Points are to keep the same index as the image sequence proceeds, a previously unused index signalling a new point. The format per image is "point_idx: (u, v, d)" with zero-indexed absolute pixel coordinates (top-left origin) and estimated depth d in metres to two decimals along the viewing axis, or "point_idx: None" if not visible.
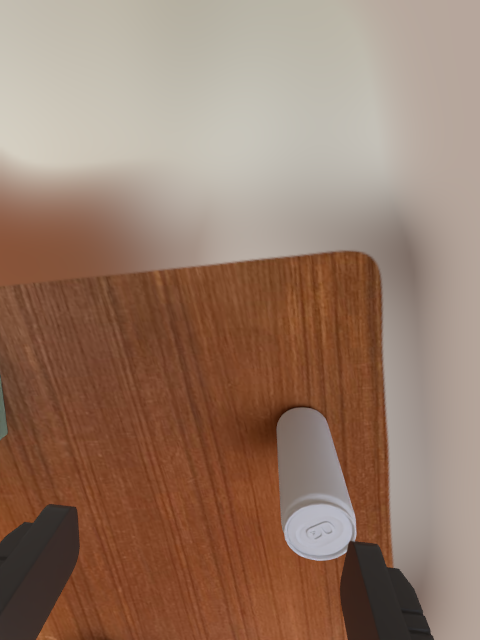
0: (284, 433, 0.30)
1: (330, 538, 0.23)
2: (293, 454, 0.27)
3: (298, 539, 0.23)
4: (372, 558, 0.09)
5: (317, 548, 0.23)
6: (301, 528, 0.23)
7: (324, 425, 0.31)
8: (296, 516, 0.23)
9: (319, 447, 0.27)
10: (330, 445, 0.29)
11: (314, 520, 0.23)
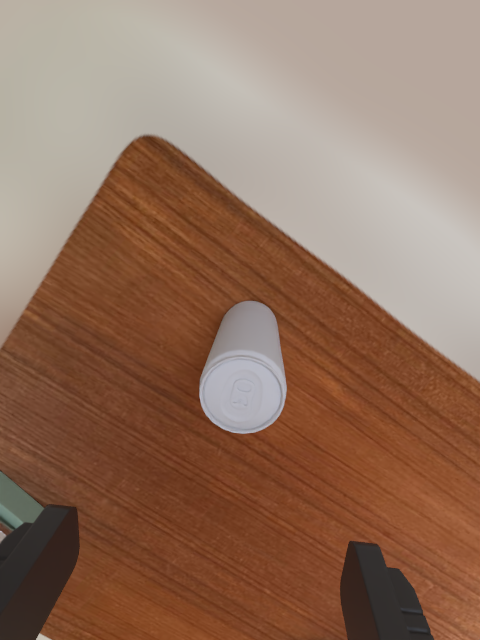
0: None
1: (257, 393, 0.19)
2: None
3: (234, 419, 0.19)
4: (372, 558, 0.09)
5: (259, 413, 0.19)
6: (224, 406, 0.19)
7: (248, 306, 0.27)
8: (207, 399, 0.19)
9: (228, 326, 0.24)
10: (247, 317, 0.25)
11: (225, 389, 0.19)
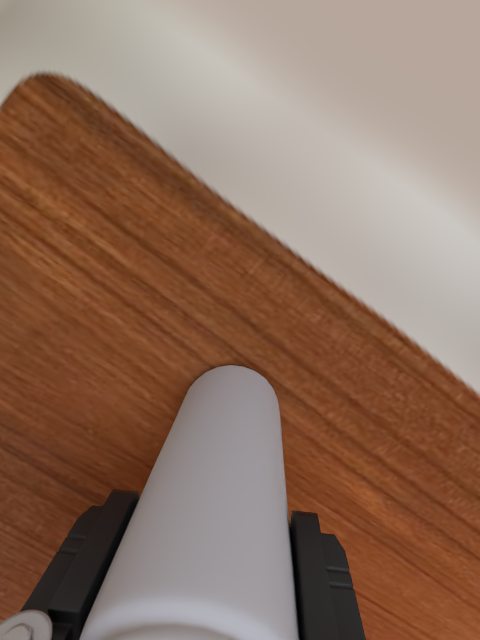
0: None
1: None
2: None
3: None
4: (309, 524, 0.10)
5: None
6: None
7: (225, 383, 0.15)
8: None
9: (177, 447, 0.12)
10: (220, 418, 0.13)
11: None
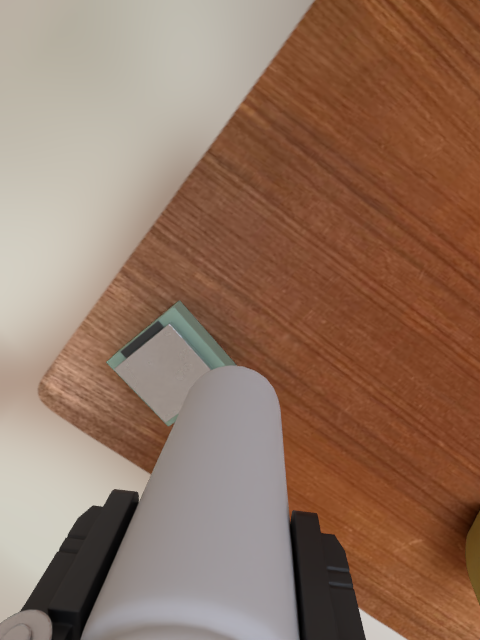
0: None
1: None
2: None
3: None
4: (309, 524, 0.10)
5: None
6: None
7: (226, 383, 0.15)
8: None
9: (178, 447, 0.12)
10: (221, 419, 0.13)
11: None
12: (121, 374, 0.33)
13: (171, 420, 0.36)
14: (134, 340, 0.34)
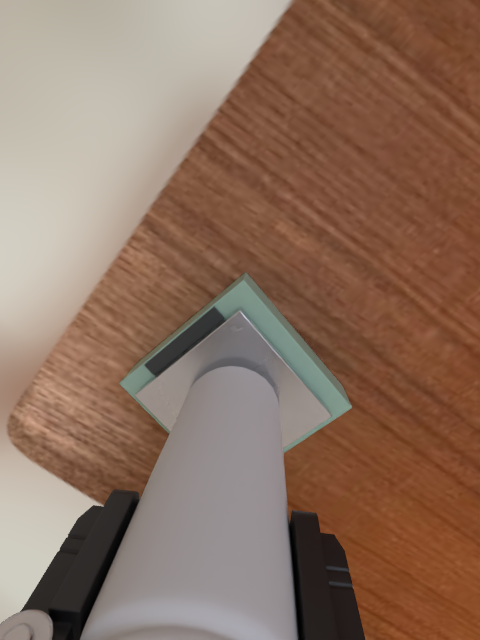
0: None
1: None
2: None
3: None
4: (308, 524, 0.10)
5: None
6: None
7: (226, 384, 0.15)
8: None
9: (178, 448, 0.12)
10: (220, 420, 0.13)
11: None
12: (148, 404, 0.19)
13: None
14: (170, 344, 0.19)
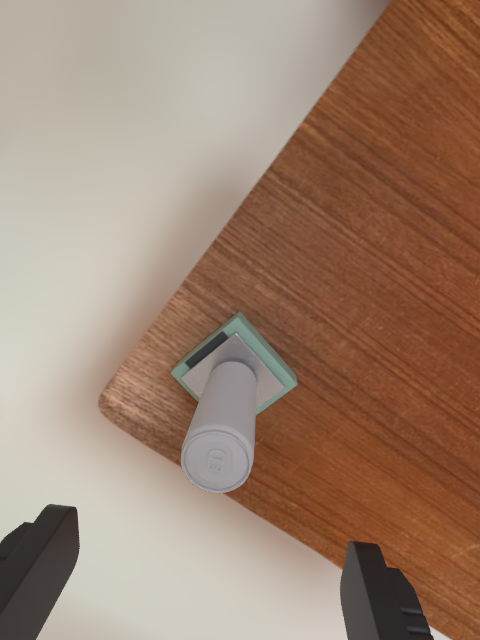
0: None
1: (228, 460, 0.23)
2: None
3: (210, 480, 0.23)
4: (372, 558, 0.09)
5: (230, 476, 0.23)
6: (202, 470, 0.23)
7: (229, 369, 0.31)
8: (188, 464, 0.23)
9: (209, 393, 0.28)
10: (226, 383, 0.29)
11: (202, 457, 0.23)
12: (187, 383, 0.35)
13: None
14: (198, 350, 0.35)
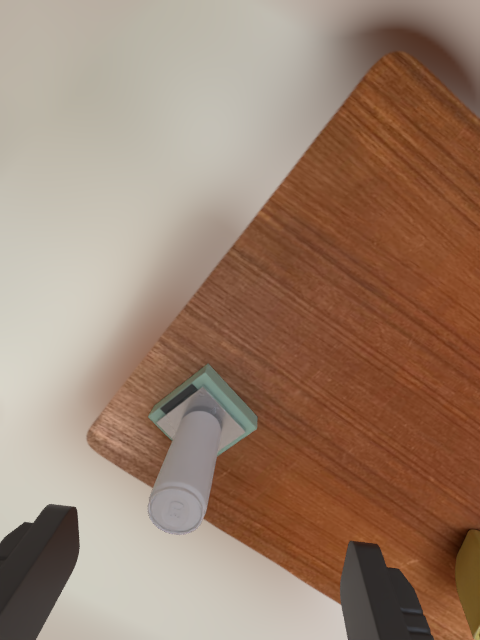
0: None
1: (185, 510, 0.29)
2: None
3: (171, 525, 0.29)
4: (372, 558, 0.09)
5: (187, 522, 0.29)
6: (164, 517, 0.29)
7: (195, 420, 0.37)
8: (153, 512, 0.29)
9: (175, 446, 0.33)
10: (191, 436, 0.34)
11: (164, 507, 0.29)
12: (162, 426, 0.40)
13: None
14: (172, 399, 0.40)
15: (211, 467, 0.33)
